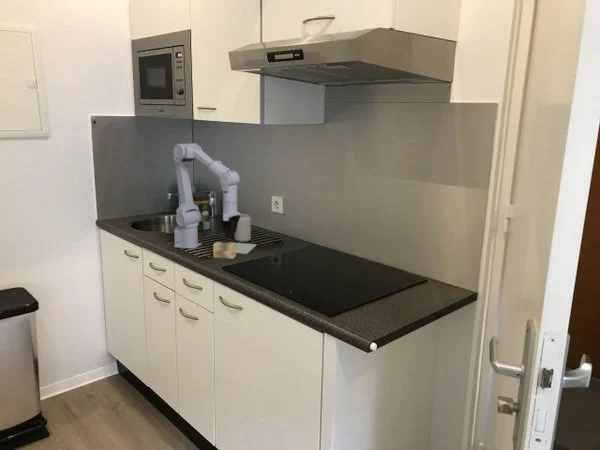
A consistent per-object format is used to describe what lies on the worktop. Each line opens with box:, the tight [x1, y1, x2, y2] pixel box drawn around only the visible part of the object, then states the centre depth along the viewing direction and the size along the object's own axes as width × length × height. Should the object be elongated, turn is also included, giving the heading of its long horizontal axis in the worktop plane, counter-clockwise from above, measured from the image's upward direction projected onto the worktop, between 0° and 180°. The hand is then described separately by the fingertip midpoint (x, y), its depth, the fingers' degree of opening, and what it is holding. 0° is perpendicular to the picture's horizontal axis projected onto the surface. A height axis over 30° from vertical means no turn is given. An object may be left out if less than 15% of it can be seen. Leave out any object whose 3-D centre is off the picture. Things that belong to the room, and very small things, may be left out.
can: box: [233, 213, 252, 243], centre depth 221 cm, size 8×8×12 cm
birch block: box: [212, 241, 237, 259], centre depth 196 cm, size 8×4×6 cm, turn 79°
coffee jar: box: [192, 191, 211, 232], centre depth 241 cm, size 10×8×19 cm
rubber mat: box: [229, 242, 257, 255], centre depth 209 cm, size 15×14×1 cm
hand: (230, 235), depth 196 cm, fingers open, 7 cm apart
